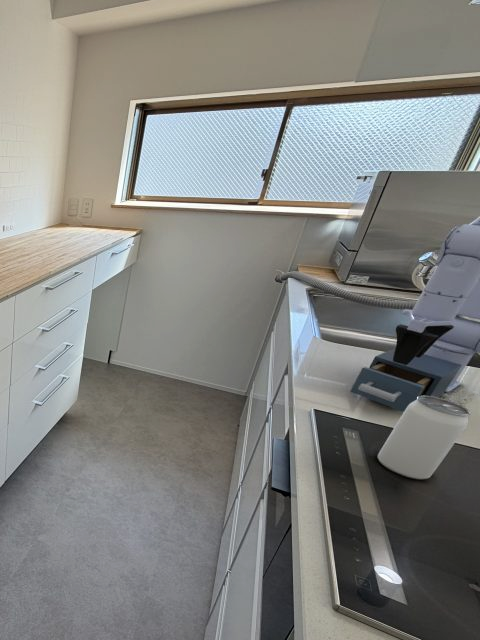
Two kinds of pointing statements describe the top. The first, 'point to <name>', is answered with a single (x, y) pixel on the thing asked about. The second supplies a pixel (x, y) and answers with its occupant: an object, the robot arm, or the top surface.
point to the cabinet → (425, 370)
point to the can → (423, 437)
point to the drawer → (391, 385)
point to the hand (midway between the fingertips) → (406, 359)
